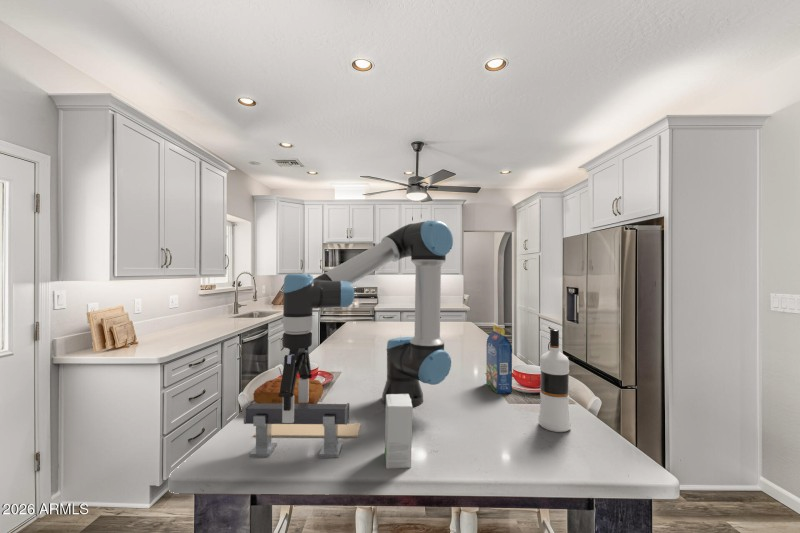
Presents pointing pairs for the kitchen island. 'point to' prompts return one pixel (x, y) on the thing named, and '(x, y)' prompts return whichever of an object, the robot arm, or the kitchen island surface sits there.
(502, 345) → the blue food package
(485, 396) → the kitchen island surface
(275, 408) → the rail
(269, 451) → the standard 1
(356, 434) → the mat
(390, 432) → the skincare box
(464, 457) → the kitchen island surface
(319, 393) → the inscribed clay slab
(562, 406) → the vodka
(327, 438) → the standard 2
